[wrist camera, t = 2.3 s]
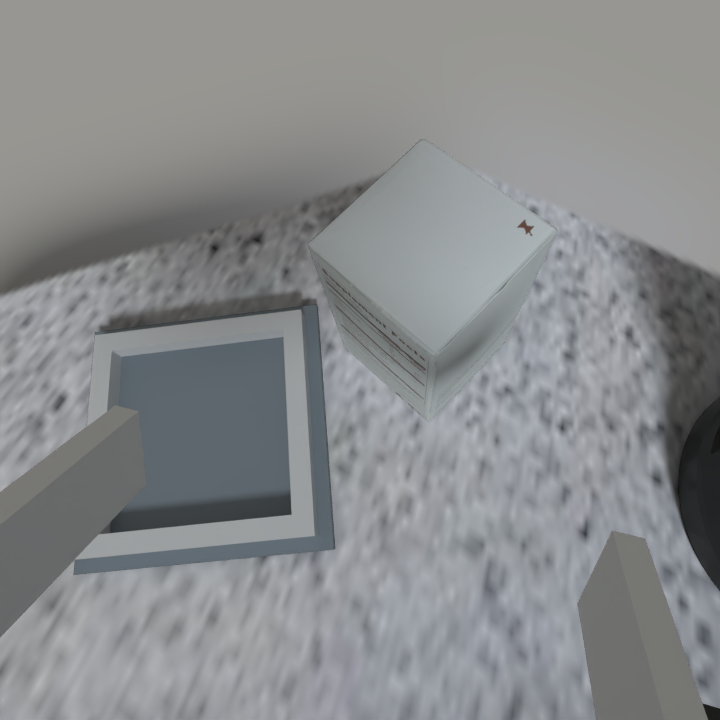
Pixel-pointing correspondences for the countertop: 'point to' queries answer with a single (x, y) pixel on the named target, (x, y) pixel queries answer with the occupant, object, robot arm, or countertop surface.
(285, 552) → the slate base tray
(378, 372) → the supplement box
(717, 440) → the robot arm
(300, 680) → the countertop surface
